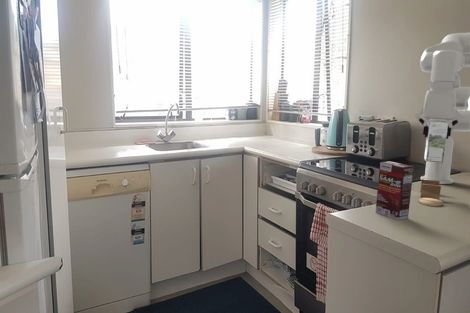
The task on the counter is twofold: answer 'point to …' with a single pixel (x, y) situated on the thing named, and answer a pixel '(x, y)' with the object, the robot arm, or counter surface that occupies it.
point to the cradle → (430, 189)
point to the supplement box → (394, 190)
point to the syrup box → (436, 141)
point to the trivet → (430, 202)
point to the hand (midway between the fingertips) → (436, 137)
